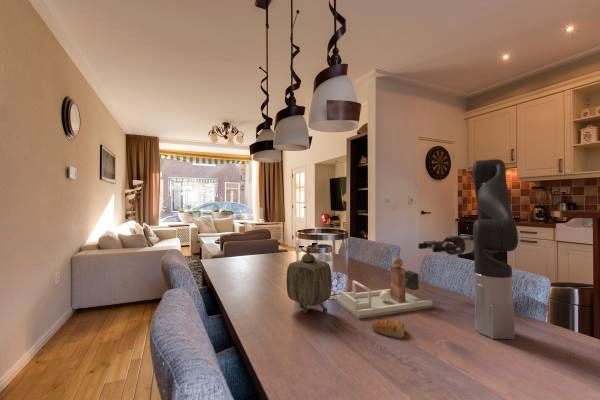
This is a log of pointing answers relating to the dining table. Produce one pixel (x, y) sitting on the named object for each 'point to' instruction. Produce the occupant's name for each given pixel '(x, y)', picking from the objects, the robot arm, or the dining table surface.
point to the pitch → (386, 304)
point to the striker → (401, 280)
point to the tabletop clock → (309, 281)
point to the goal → (350, 298)
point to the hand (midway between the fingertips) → (426, 247)
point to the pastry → (389, 328)
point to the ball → (385, 296)
